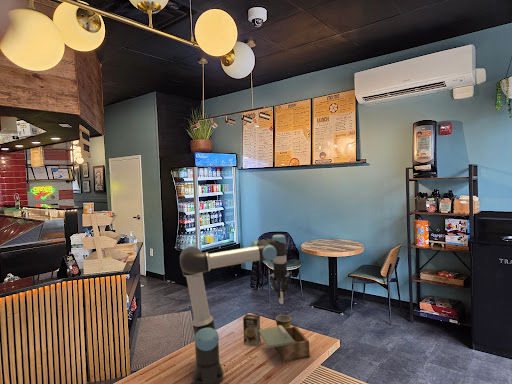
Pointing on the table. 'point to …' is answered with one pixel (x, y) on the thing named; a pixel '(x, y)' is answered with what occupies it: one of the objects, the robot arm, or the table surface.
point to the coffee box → (251, 329)
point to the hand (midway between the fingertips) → (281, 303)
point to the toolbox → (294, 346)
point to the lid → (276, 336)
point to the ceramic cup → (283, 320)
